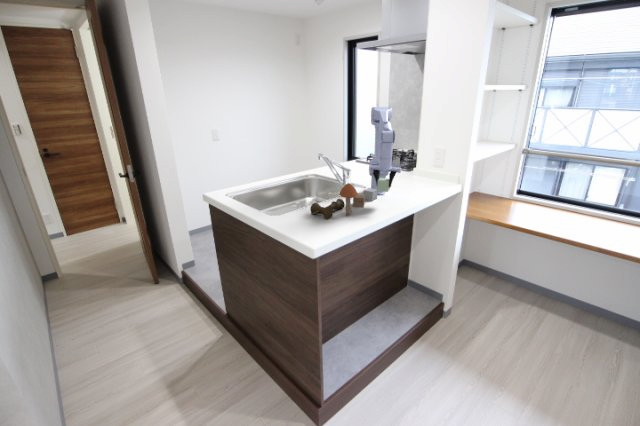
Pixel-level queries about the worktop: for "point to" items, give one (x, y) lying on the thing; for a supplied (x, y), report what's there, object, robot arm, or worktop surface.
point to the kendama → (327, 208)
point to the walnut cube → (359, 200)
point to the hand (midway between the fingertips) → (383, 186)
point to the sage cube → (383, 185)
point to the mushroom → (348, 196)
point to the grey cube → (370, 194)
